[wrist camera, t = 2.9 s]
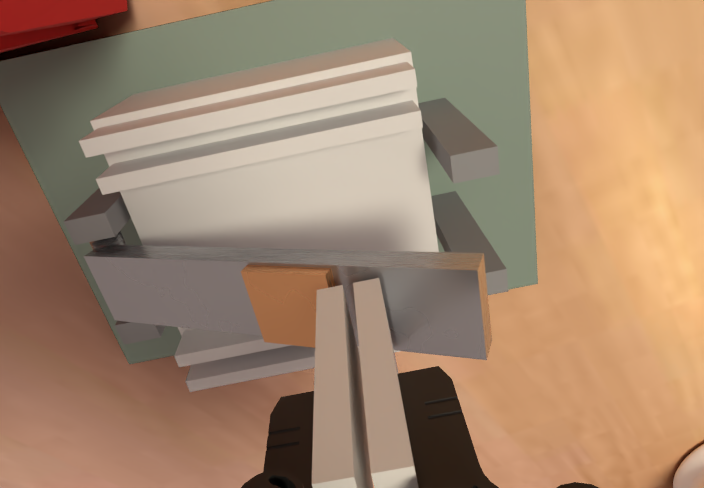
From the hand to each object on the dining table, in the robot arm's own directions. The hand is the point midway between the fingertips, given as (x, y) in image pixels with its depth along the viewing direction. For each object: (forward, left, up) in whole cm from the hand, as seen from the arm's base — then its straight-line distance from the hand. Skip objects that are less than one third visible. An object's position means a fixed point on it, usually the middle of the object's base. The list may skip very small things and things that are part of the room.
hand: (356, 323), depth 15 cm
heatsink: (0, -2, -14) cm, 14 cm away
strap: (0, -3, -4) cm, 5 cm away
